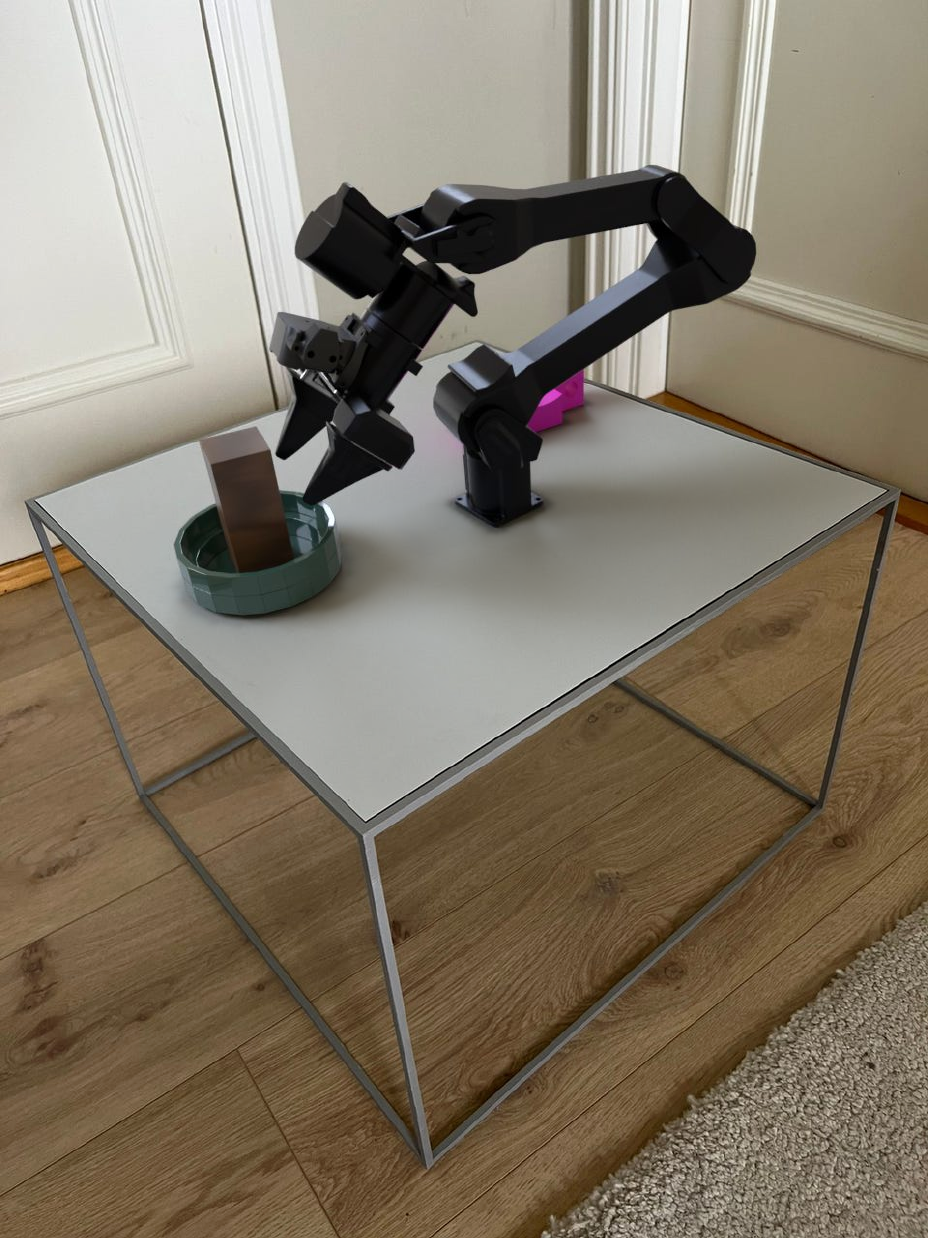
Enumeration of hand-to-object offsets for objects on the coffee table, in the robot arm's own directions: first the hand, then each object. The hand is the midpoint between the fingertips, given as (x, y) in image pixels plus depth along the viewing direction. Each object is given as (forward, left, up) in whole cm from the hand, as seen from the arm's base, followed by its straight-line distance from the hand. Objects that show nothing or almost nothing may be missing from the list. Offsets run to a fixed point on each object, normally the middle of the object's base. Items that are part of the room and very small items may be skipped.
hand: (292, 479), depth 83 cm
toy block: (+7, -33, -9) cm, 35 cm away
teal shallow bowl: (+1, +4, -8) cm, 9 cm away
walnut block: (+1, +4, -8) cm, 9 cm away
